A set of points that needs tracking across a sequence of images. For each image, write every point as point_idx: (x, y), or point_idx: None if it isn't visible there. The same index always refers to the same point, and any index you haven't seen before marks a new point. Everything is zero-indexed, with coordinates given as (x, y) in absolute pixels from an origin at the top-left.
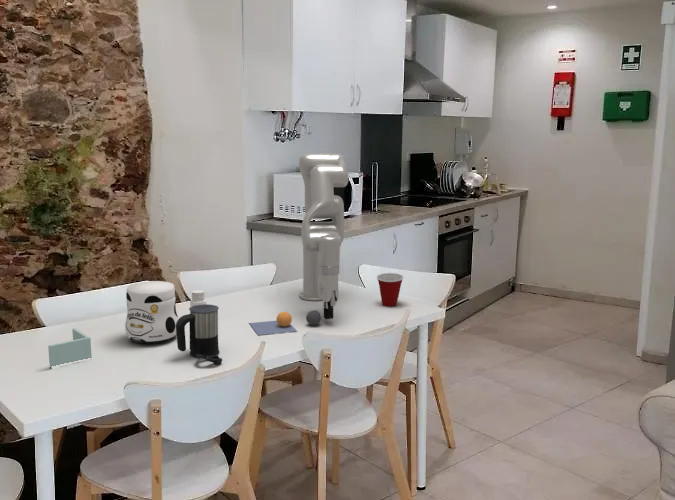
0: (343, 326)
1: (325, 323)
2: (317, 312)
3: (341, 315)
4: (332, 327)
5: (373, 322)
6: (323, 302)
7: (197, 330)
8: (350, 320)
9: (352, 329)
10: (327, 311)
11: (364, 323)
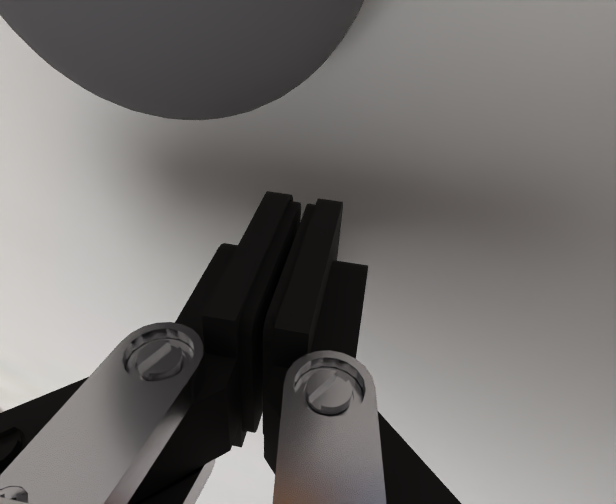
0: (106, 283)
1: (273, 157)
2: (21, 21)
3: (489, 438)
4: (79, 161)
5: None
6: (361, 468)
7: None
8: None
9: (3, 304)
10: (205, 305)
11: None
